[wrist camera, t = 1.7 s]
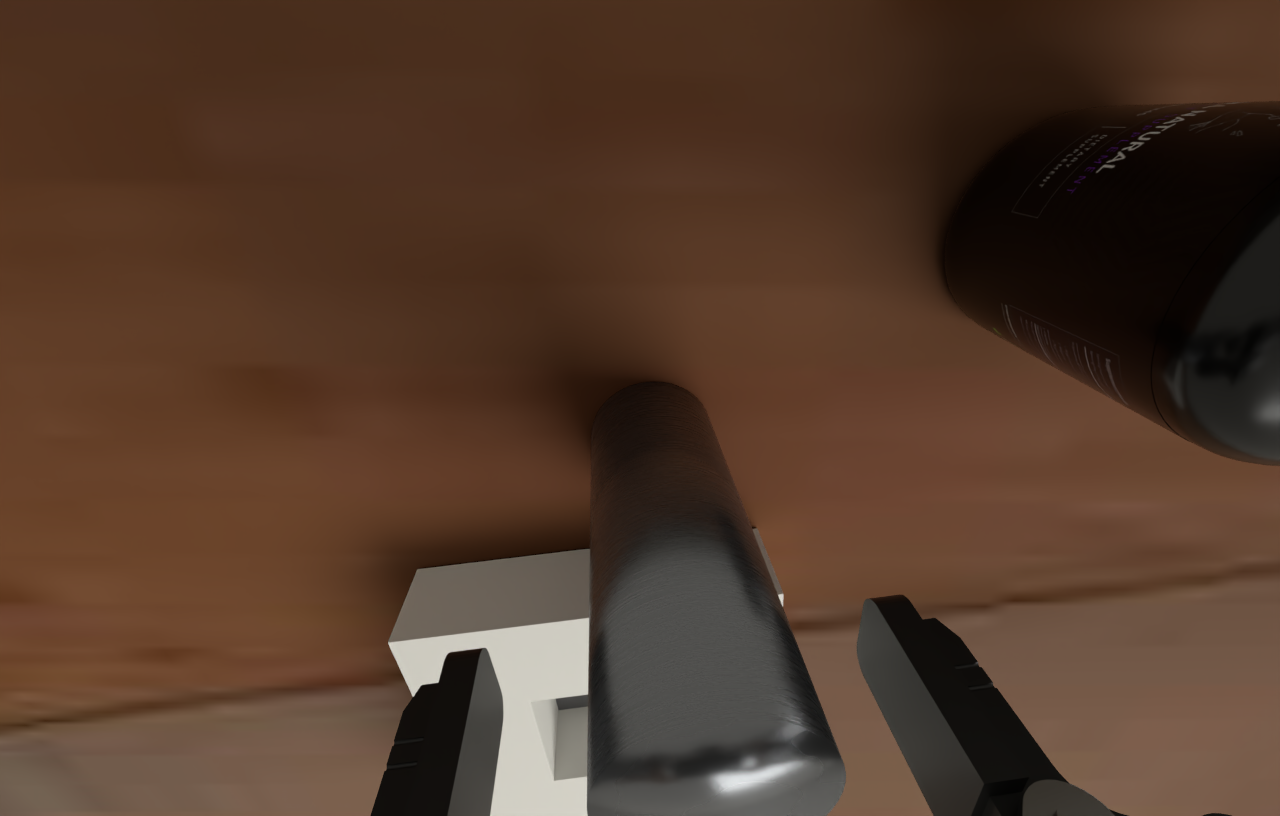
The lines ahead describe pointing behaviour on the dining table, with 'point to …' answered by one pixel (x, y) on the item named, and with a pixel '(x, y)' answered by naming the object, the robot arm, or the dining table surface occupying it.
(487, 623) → the socket block
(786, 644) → the graphite peg
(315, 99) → the dining table surface
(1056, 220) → the supplement bottle
